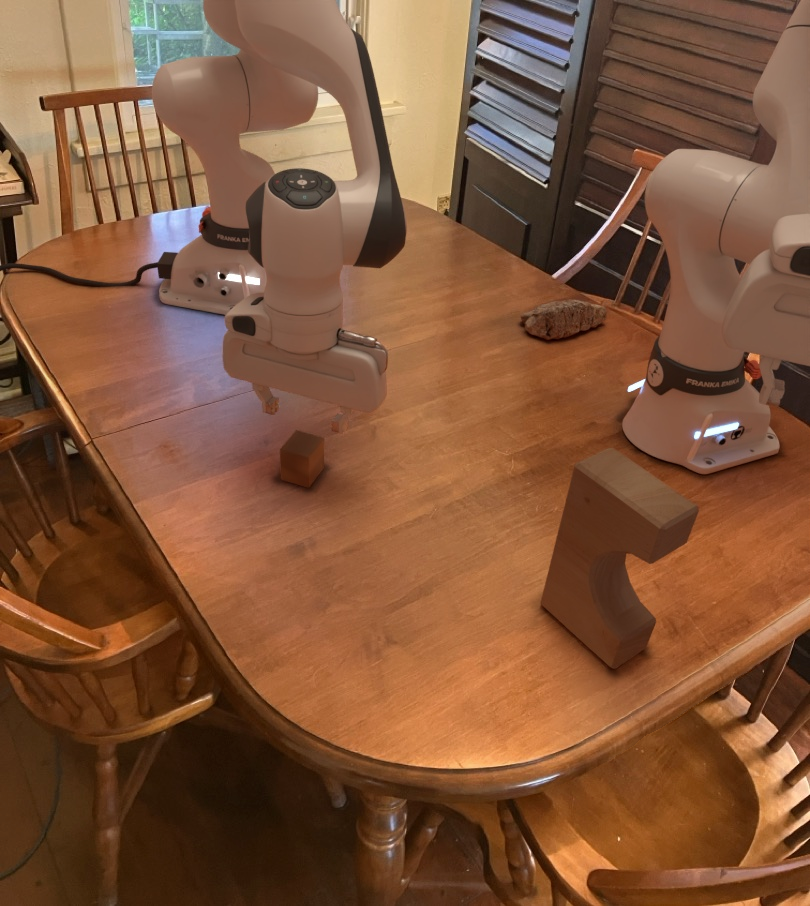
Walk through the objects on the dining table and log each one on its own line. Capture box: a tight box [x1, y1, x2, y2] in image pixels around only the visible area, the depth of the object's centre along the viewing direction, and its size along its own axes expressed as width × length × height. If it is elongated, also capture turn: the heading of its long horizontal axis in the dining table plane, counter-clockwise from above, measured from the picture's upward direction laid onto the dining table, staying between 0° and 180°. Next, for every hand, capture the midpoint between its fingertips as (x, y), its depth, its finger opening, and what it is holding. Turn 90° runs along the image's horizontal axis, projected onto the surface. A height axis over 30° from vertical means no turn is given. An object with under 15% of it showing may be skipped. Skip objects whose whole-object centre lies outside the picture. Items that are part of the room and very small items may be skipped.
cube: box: [279, 429, 325, 489], centre depth 103 cm, size 4×5×5 cm
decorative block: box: [540, 446, 700, 669], centre depth 81 cm, size 11×6×20 cm, turn 35°
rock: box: [520, 299, 608, 341], centre depth 141 cm, size 15×10×6 cm
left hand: (304, 420), depth 100 cm, fingers open, 8 cm apart
